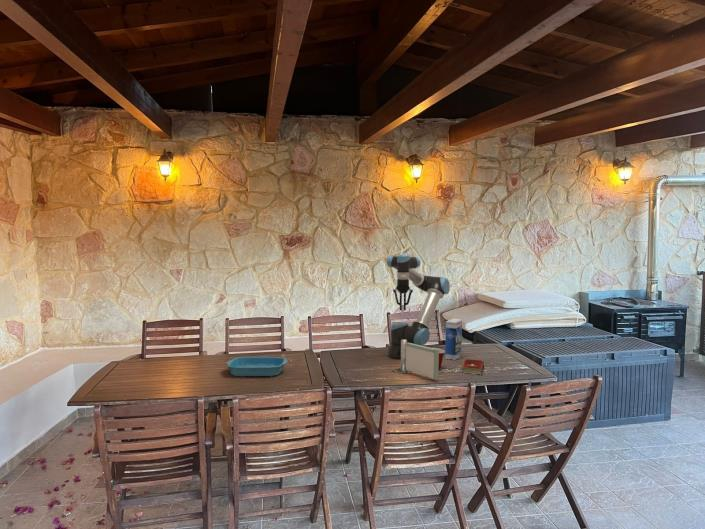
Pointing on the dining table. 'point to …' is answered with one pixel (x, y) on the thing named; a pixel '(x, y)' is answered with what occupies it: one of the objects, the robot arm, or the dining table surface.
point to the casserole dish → (256, 366)
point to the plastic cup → (440, 356)
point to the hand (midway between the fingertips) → (402, 315)
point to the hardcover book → (472, 366)
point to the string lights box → (453, 339)
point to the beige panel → (422, 360)
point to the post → (403, 357)
